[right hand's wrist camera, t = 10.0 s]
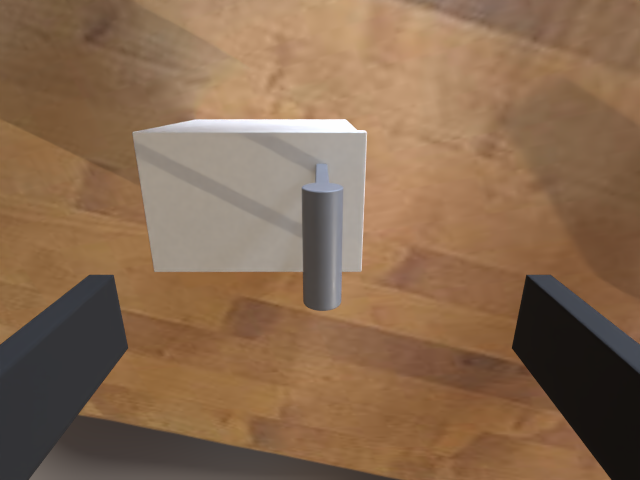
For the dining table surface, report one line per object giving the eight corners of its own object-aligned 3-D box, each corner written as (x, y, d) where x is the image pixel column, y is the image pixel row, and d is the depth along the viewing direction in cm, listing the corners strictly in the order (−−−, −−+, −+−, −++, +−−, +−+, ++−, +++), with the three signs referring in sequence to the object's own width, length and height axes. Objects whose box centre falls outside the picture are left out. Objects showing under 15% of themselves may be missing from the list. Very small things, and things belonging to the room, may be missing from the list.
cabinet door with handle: (364, 130, 25) (389, 149, 16) (359, 264, 28) (378, 342, 19) (140, 130, 25) (42, 149, 16) (160, 265, 28) (88, 342, 19)
